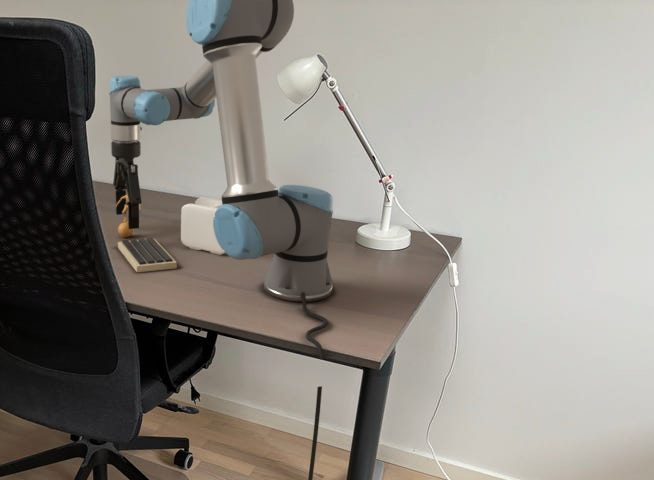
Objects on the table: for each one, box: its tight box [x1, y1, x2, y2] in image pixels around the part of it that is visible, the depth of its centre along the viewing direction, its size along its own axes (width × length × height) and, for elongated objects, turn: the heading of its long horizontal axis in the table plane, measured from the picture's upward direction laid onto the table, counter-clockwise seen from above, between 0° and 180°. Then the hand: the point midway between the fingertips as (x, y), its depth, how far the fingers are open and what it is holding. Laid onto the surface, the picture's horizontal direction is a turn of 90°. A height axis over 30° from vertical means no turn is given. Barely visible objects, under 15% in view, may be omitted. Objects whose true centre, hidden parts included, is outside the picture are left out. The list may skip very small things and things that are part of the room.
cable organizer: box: [180, 196, 226, 256], centre depth 192 cm, size 15×11×12 cm
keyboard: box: [117, 237, 178, 273], centre depth 186 cm, size 19×10×2 cm, turn 18°
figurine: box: [114, 193, 142, 238], centre depth 199 cm, size 8×6×12 cm
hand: (127, 221), depth 200 cm, fingers open, 13 cm apart
